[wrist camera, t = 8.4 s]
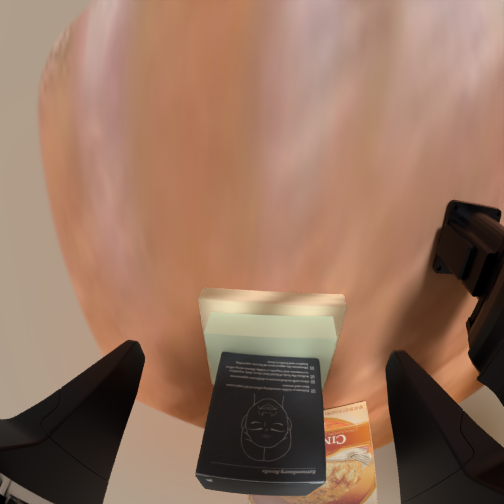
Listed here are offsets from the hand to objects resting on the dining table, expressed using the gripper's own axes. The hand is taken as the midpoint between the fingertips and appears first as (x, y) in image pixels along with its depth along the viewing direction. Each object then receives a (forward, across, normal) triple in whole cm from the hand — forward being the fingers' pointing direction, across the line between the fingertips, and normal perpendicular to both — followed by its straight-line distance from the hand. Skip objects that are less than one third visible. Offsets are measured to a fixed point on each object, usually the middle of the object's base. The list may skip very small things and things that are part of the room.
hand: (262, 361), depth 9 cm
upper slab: (+11, 0, +12) cm, 17 cm away
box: (+9, 0, +12) cm, 15 cm away
